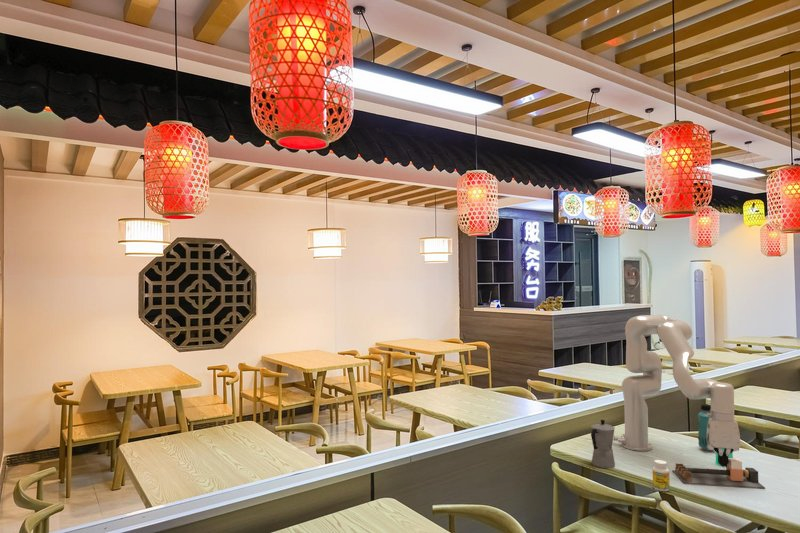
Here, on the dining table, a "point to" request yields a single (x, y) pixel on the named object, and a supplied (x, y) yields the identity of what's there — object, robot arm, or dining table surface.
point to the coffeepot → (602, 445)
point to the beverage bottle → (703, 425)
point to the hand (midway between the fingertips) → (723, 465)
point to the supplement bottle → (661, 476)
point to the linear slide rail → (716, 477)
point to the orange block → (735, 469)
